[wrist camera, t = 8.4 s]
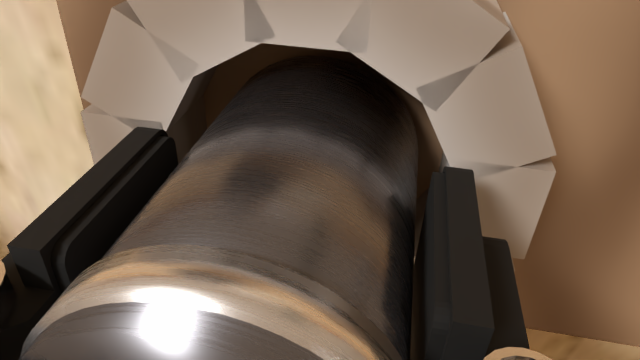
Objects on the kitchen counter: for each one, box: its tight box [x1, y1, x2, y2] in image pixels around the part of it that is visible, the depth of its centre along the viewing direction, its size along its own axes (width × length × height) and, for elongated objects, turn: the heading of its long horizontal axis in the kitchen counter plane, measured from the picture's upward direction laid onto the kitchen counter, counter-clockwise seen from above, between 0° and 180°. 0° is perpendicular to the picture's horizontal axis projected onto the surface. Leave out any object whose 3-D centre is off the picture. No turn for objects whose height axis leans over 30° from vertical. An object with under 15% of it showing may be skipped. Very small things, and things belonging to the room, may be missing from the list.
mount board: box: [56, 0, 640, 347], centre depth 13 cm, size 18×12×4 cm, turn 87°
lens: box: [19, 56, 418, 360], centre depth 9 cm, size 5×5×8 cm
